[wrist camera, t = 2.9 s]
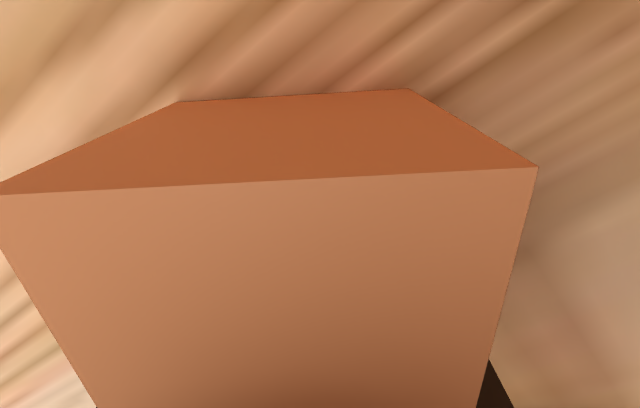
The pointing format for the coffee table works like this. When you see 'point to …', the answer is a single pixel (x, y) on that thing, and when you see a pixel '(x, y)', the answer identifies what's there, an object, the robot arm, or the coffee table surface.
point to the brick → (274, 253)
